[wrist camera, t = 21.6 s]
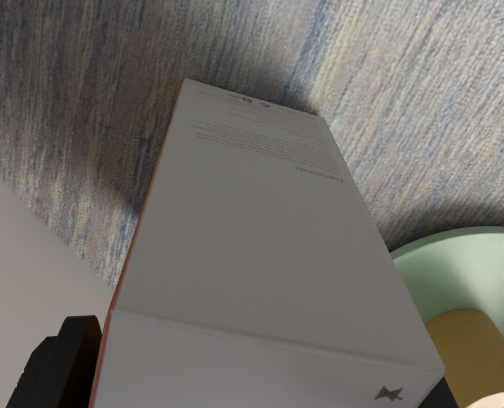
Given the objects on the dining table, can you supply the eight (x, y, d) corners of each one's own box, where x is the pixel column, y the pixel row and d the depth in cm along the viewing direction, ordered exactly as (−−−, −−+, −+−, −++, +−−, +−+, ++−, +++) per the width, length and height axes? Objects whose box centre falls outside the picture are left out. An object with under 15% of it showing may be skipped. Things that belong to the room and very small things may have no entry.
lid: (331, 225, 22) (362, 317, 17) (615, 212, 22) (734, 299, 17) (317, 402, 30) (335, 504, 24) (529, 391, 30) (593, 489, 25)
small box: (182, 73, 18) (103, 308, 7) (327, 115, 19) (462, 373, 8) (146, 231, 22) (60, 542, 11) (268, 258, 23) (304, 562, 12)
